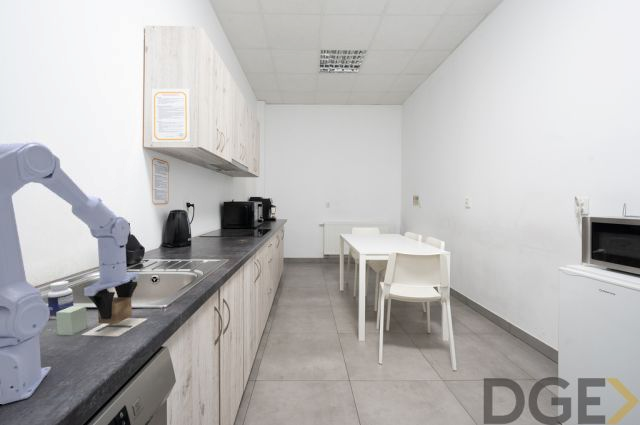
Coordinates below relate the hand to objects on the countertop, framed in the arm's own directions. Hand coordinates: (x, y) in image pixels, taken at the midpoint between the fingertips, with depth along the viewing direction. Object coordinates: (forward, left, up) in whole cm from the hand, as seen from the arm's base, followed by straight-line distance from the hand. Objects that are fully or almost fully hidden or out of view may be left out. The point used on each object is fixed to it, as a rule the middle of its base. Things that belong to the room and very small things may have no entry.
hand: (115, 314), depth 73 cm
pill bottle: (+18, +16, -4) cm, 24 cm away
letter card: (0, 0, -4) cm, 4 cm away
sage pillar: (+3, +9, -4) cm, 10 cm away
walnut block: (0, 0, -1) cm, 1 cm away
